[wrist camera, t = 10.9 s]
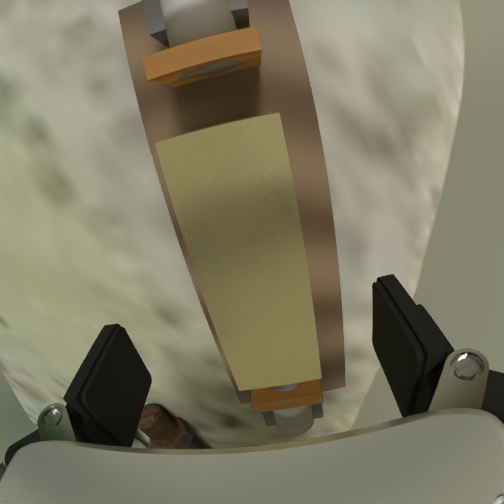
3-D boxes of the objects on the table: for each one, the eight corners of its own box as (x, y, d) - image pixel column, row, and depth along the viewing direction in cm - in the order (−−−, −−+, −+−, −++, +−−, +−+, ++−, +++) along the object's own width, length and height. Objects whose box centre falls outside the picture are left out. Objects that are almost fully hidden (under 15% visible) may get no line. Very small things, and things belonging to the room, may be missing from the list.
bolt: (158, 384, 29) (229, 451, 34) (122, 408, 27) (199, 470, 33) (169, 418, 24) (247, 480, 29) (127, 443, 22) (214, 500, 27)
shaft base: (341, 374, 25) (356, 431, 19) (241, 390, 26) (238, 448, 20) (276, -23, 12) (284, -74, 7) (127, 16, 13) (77, -13, 8)
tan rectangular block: (271, 112, 15) (279, 112, 10) (308, 316, 20) (321, 378, 15) (187, 132, 15) (154, 143, 10) (242, 328, 21) (239, 390, 16)
